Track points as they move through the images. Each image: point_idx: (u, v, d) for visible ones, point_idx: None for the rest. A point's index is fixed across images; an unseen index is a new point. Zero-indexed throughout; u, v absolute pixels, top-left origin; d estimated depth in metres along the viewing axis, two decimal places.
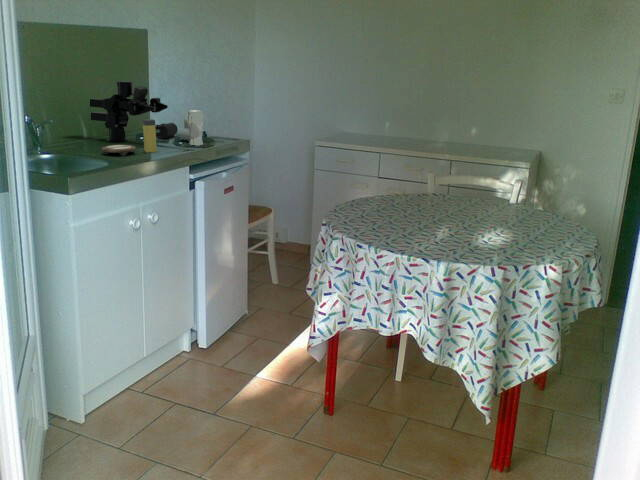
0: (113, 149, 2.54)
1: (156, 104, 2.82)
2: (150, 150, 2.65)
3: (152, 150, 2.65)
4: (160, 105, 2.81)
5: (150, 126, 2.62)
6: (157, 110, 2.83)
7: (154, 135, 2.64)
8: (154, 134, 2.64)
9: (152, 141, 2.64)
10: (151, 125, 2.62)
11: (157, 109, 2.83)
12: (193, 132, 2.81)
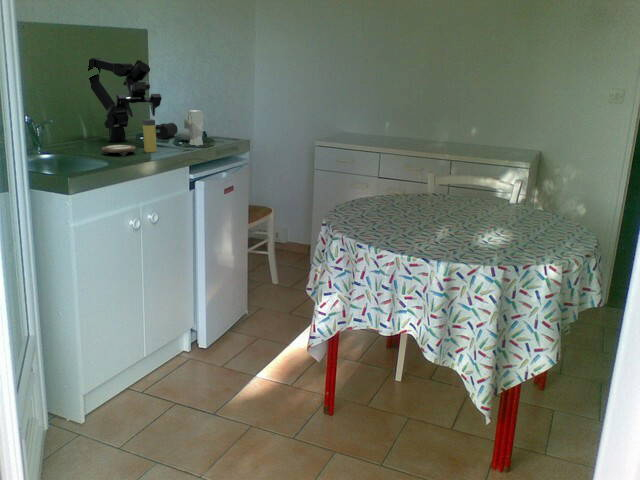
0: (113, 149, 2.54)
1: (151, 103, 2.74)
2: (150, 150, 2.65)
3: (152, 150, 2.65)
4: (152, 108, 2.73)
5: (150, 126, 2.62)
6: None
7: (154, 135, 2.64)
8: (154, 134, 2.64)
9: (152, 141, 2.64)
10: (151, 125, 2.62)
11: (151, 107, 2.75)
12: (193, 132, 2.81)
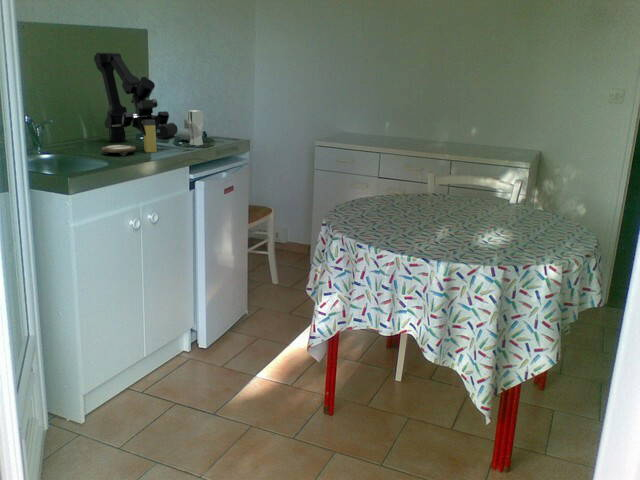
0: (113, 149, 2.54)
1: None
2: (150, 150, 2.65)
3: (152, 150, 2.65)
4: None
5: (150, 126, 2.62)
6: None
7: (154, 135, 2.64)
8: (154, 134, 2.64)
9: (152, 141, 2.64)
10: (151, 125, 2.62)
11: None
12: (193, 132, 2.81)
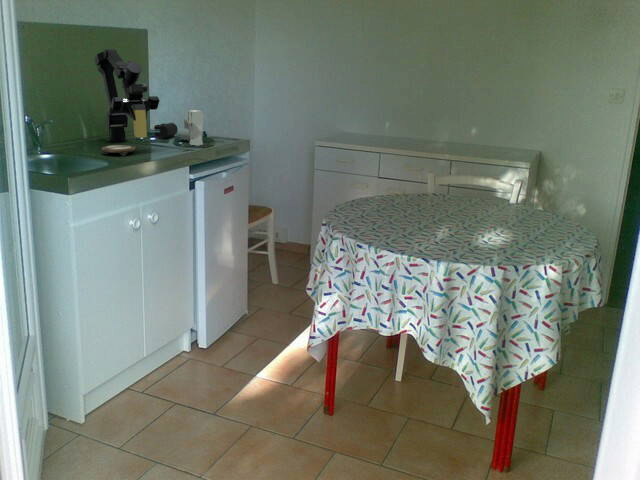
0: (113, 149, 2.54)
1: None
2: (140, 135, 2.61)
3: (142, 135, 2.61)
4: None
5: (140, 110, 2.58)
6: None
7: (144, 120, 2.60)
8: (144, 119, 2.60)
9: (142, 126, 2.60)
10: (141, 110, 2.58)
11: None
12: (193, 132, 2.81)
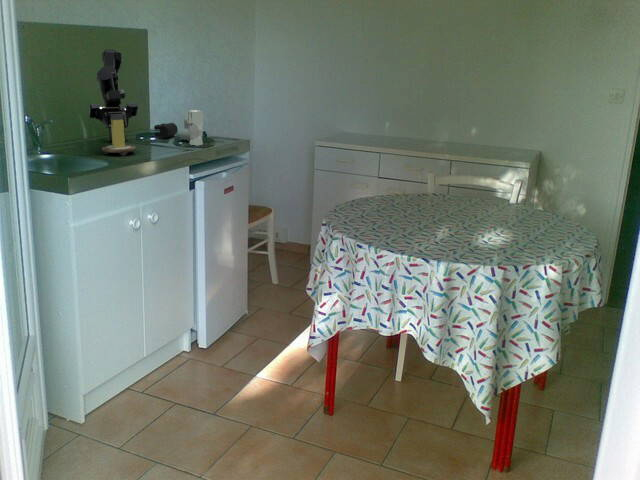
0: (113, 149, 2.54)
1: (125, 113, 2.59)
2: (118, 145, 2.57)
3: (120, 145, 2.57)
4: (125, 118, 2.59)
5: (118, 120, 2.54)
6: (124, 118, 2.61)
7: (122, 130, 2.56)
8: (122, 129, 2.56)
9: (120, 136, 2.56)
10: (119, 119, 2.55)
11: (124, 117, 2.61)
12: (193, 132, 2.81)
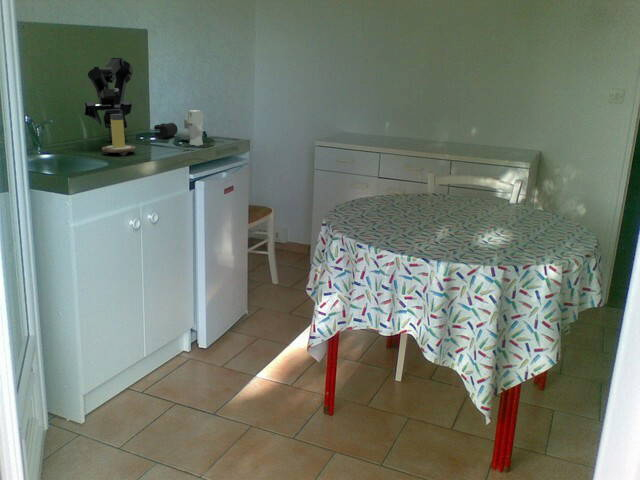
0: (113, 149, 2.54)
1: (121, 110, 2.68)
2: (118, 145, 2.57)
3: (120, 145, 2.57)
4: None
5: (118, 120, 2.54)
6: None
7: (122, 130, 2.56)
8: (122, 129, 2.56)
9: (120, 136, 2.56)
10: (119, 120, 2.54)
11: None
12: (193, 132, 2.81)
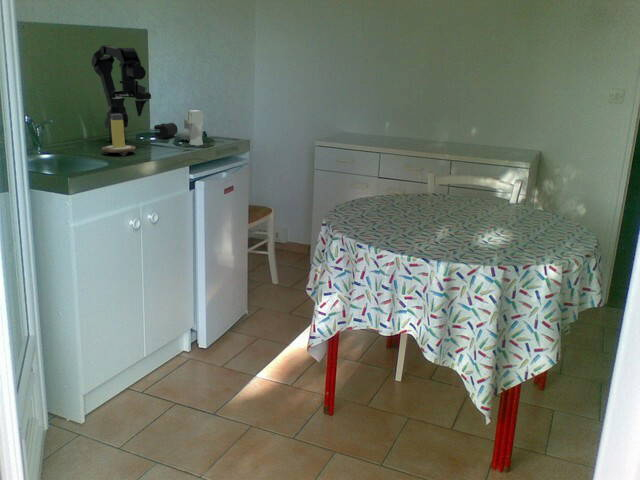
0: (113, 149, 2.54)
1: (121, 100, 2.77)
2: (118, 145, 2.57)
3: (120, 145, 2.57)
4: (122, 105, 2.77)
5: (118, 120, 2.54)
6: (117, 101, 2.75)
7: (122, 130, 2.56)
8: (122, 129, 2.56)
9: (120, 136, 2.56)
10: (119, 120, 2.54)
11: (118, 101, 2.75)
12: (193, 132, 2.81)
